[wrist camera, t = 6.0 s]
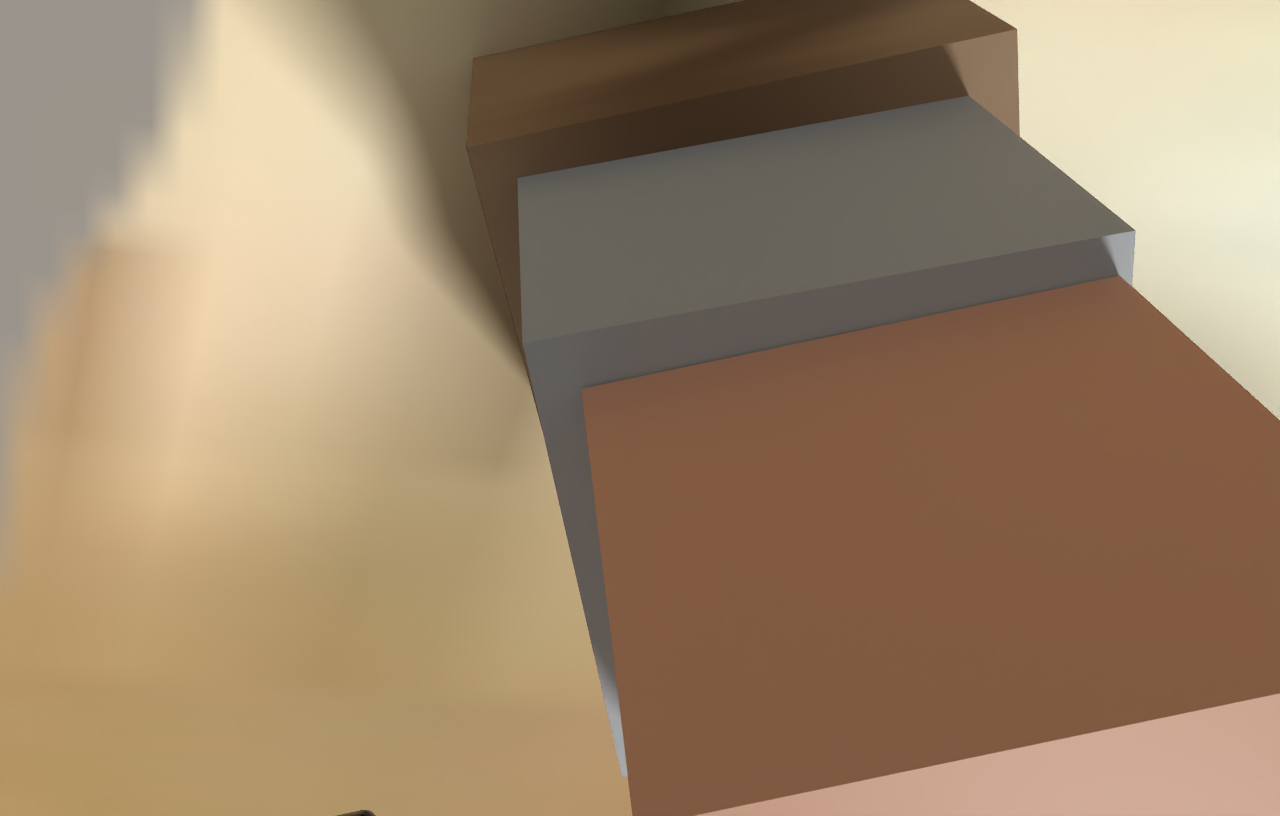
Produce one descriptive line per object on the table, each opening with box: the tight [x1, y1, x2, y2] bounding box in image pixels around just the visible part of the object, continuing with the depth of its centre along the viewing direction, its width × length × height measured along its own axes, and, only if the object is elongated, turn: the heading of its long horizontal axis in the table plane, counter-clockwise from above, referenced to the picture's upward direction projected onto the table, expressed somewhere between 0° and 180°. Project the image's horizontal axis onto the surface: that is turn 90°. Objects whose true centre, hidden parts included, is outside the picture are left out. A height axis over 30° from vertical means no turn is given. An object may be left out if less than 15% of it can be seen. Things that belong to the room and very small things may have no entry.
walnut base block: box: [466, 0, 1020, 431], centre depth 16 cm, size 6×6×4 cm
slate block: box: [517, 96, 1135, 777], centre depth 13 cm, size 5×5×4 cm
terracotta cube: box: [581, 275, 1280, 816], centre depth 9 cm, size 4×4×4 cm
